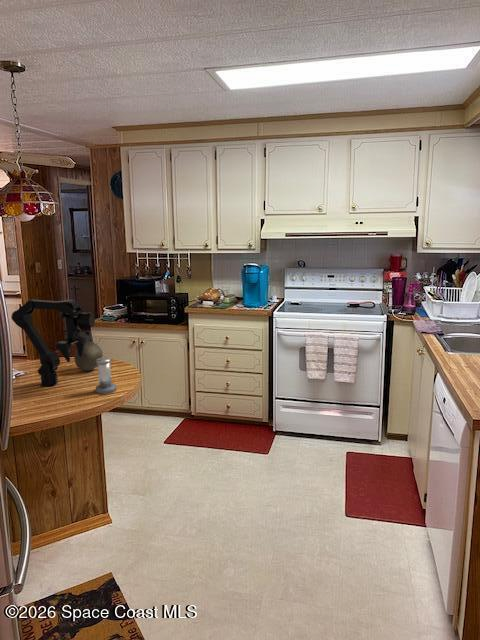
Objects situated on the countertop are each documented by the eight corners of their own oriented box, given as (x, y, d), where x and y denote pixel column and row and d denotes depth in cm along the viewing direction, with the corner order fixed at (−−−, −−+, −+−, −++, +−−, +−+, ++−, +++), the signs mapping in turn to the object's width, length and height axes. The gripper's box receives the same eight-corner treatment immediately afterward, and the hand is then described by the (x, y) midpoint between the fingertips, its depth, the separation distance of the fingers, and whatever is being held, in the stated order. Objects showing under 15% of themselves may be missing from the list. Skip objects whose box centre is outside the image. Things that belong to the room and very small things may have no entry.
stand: (93, 394, 211) (93, 390, 210) (99, 387, 219) (98, 383, 219) (113, 394, 211) (113, 389, 210) (118, 387, 220) (118, 383, 219)
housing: (99, 389, 211) (96, 362, 208) (97, 385, 216) (95, 358, 214) (113, 387, 213) (111, 360, 210) (112, 383, 219) (109, 356, 216)
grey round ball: (76, 376, 236) (73, 347, 233) (74, 368, 249) (72, 341, 246) (105, 372, 241) (102, 344, 238) (102, 364, 254) (100, 338, 251)
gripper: (73, 332, 206) (77, 366, 209) (98, 323, 223) (101, 355, 226) (52, 331, 209) (56, 364, 212) (78, 322, 226) (81, 353, 230)
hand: (74, 359), depth 220 cm, fingers open, 9 cm apart
